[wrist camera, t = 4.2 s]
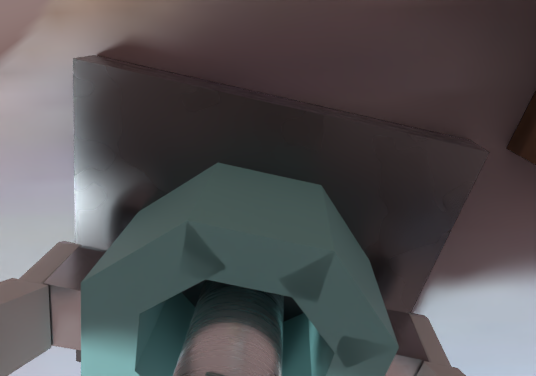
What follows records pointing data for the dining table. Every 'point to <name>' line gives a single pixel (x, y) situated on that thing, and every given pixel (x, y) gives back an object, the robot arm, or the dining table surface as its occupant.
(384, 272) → the post stand
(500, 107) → the dining table surface
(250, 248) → the teal ring
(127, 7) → the dining table surface
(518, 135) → the walnut tray
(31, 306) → the robot arm
